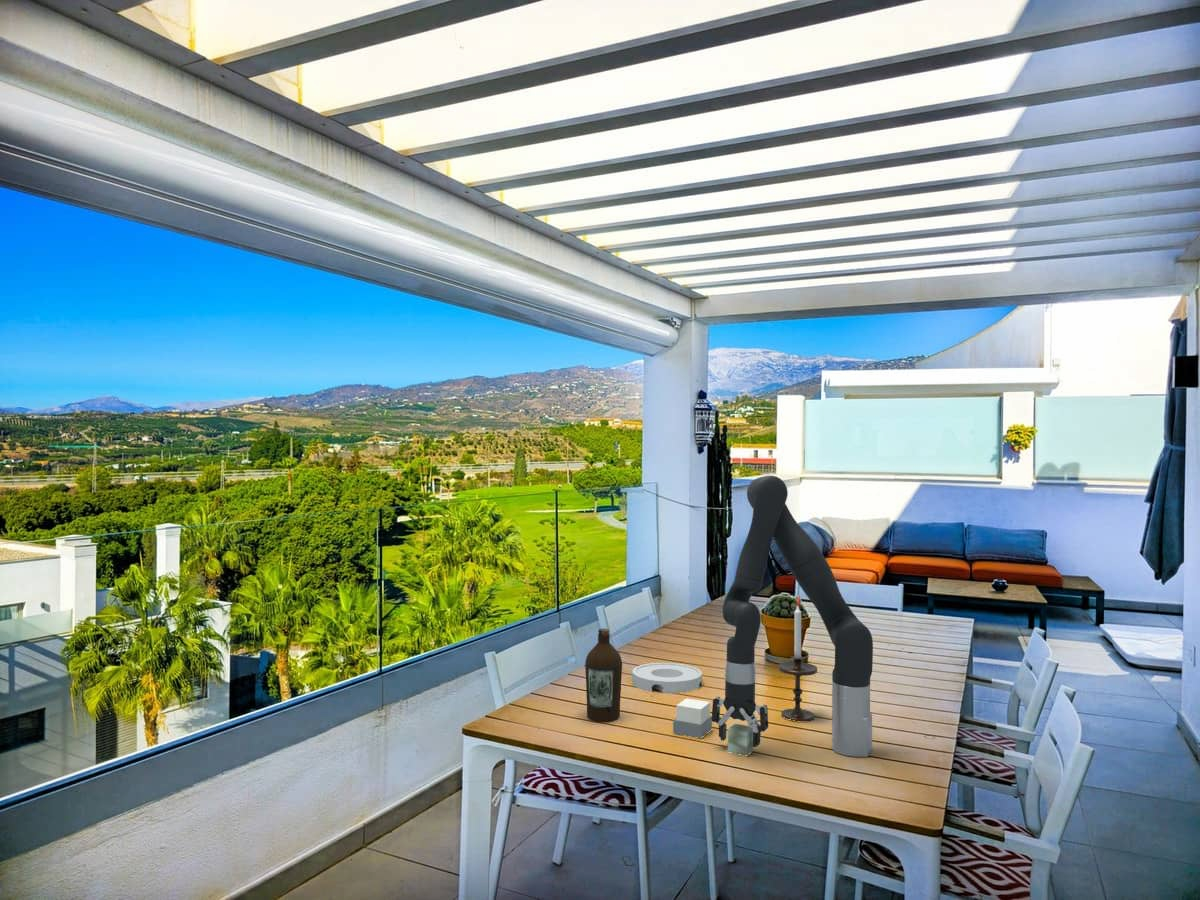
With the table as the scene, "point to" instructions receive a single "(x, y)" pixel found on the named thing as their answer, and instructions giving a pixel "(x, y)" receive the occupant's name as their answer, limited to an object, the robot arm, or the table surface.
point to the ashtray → (666, 677)
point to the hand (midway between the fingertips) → (739, 743)
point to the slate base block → (692, 728)
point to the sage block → (740, 739)
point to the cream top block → (693, 711)
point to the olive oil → (603, 680)
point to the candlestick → (797, 673)
